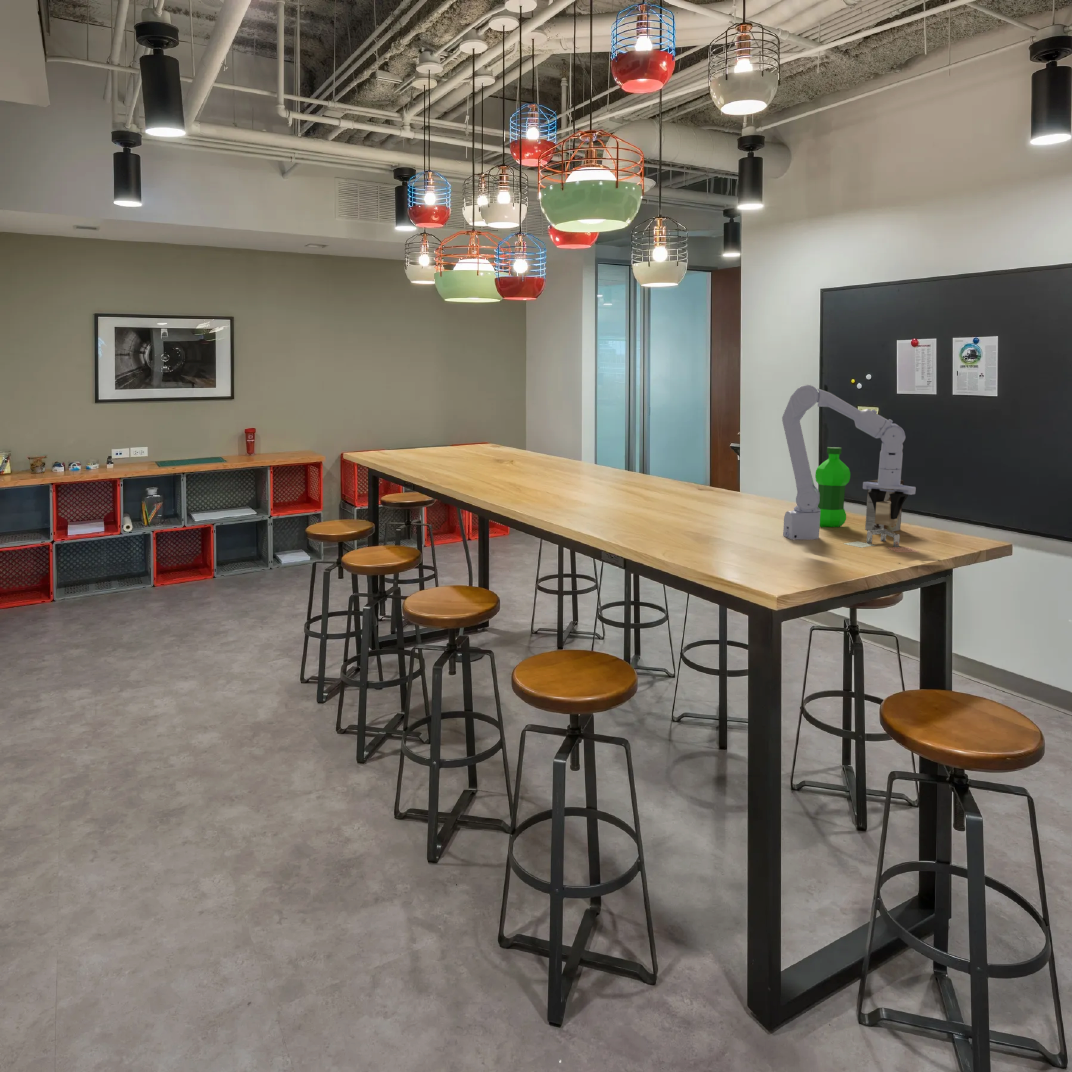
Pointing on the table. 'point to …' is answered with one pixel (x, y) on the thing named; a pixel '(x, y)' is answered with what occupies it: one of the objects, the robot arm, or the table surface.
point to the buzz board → (895, 549)
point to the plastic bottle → (832, 489)
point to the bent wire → (883, 536)
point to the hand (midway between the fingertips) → (886, 517)
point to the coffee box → (871, 513)
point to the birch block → (884, 513)
